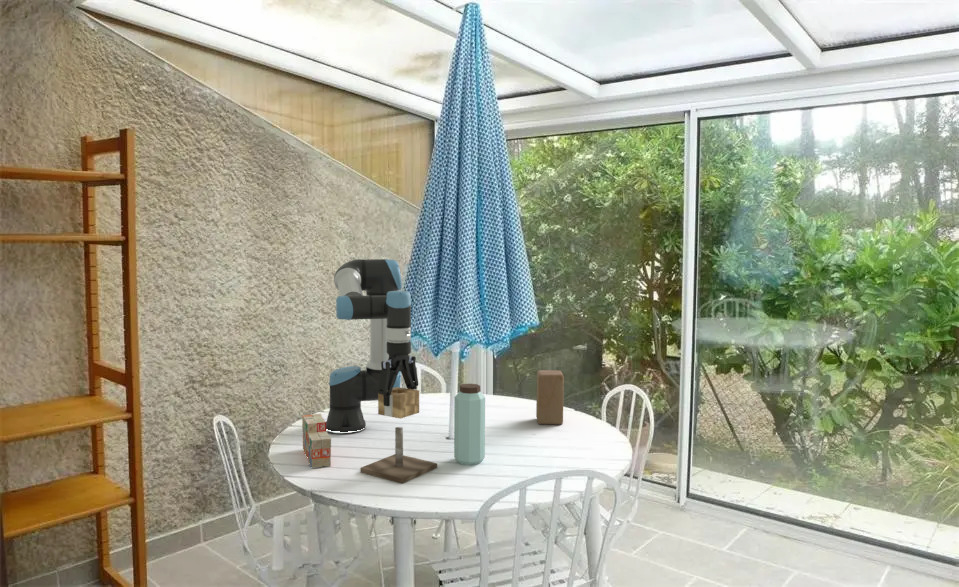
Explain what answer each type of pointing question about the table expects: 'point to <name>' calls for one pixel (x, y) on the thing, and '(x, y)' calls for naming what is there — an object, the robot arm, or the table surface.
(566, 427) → the table surface
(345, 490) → the table surface
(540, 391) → the wooden block
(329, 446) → the stack of blocks
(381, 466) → the board
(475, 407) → the water bottle
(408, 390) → the bead
